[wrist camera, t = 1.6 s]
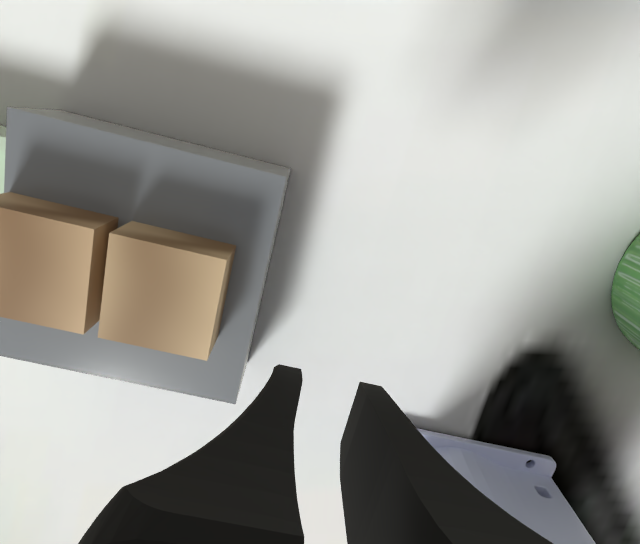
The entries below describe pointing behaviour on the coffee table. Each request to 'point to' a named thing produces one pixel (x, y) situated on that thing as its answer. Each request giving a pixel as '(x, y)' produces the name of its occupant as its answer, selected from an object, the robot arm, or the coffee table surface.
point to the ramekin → (628, 293)
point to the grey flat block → (157, 210)
